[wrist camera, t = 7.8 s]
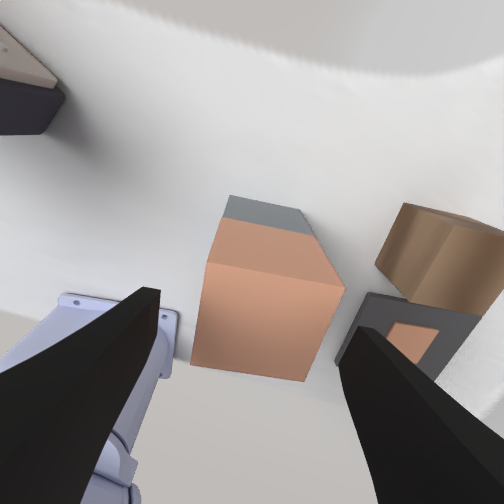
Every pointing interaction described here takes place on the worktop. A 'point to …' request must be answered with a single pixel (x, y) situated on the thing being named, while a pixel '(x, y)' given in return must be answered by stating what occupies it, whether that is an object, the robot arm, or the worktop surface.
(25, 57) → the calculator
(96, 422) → the robot arm
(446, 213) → the walnut block
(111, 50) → the worktop surface
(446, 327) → the board
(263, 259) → the terracotta block
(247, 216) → the slate block
